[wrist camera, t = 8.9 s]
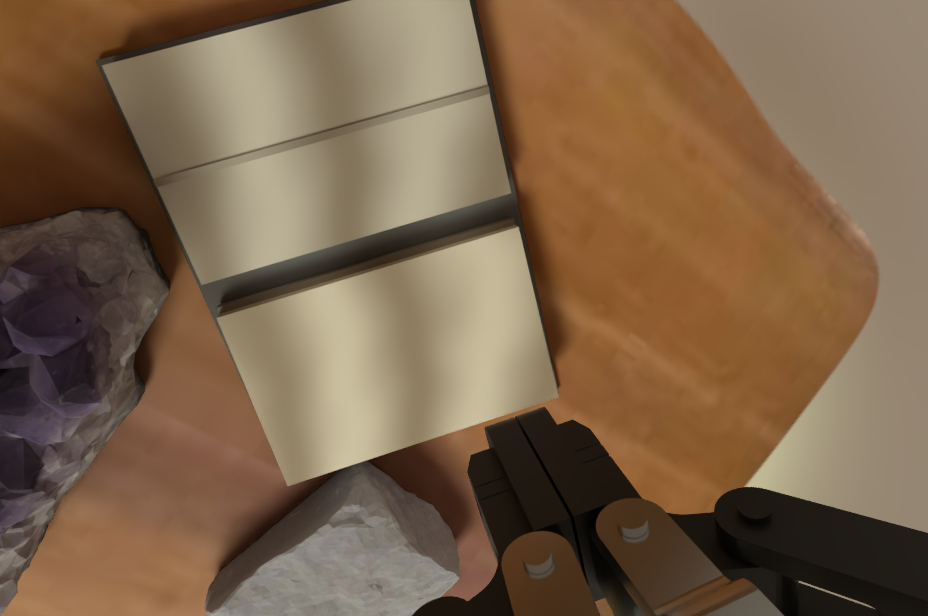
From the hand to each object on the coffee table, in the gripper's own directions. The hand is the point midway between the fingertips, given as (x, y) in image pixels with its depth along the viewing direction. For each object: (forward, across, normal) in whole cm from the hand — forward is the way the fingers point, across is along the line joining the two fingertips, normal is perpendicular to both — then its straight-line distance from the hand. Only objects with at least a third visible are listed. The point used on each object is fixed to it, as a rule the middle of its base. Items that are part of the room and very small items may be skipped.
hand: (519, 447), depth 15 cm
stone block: (+17, +9, +16) cm, 25 cm away
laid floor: (+16, +2, -1) cm, 16 cm away
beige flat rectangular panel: (+16, +2, +4) cm, 16 cm away
